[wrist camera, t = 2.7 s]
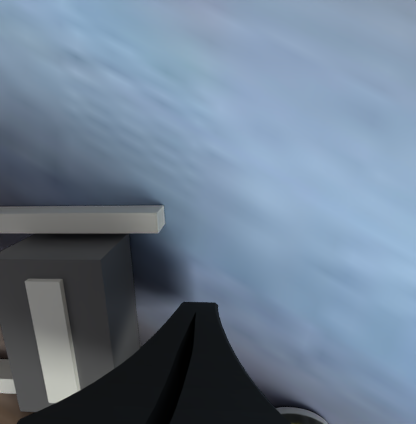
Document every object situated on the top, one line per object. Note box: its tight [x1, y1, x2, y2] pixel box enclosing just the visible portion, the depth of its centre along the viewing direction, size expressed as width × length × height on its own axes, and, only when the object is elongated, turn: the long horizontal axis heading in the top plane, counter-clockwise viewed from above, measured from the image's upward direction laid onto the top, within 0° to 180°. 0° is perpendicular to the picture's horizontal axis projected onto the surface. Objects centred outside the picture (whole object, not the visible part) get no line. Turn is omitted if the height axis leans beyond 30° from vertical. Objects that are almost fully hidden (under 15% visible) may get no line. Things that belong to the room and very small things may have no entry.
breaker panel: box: [0, 205, 165, 394], centre depth 14 cm, size 16×14×2 cm
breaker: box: [0, 233, 140, 412], centre depth 12 cm, size 6×4×3 cm, turn 2°
